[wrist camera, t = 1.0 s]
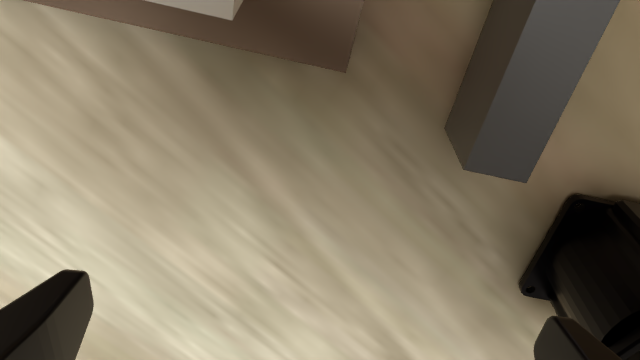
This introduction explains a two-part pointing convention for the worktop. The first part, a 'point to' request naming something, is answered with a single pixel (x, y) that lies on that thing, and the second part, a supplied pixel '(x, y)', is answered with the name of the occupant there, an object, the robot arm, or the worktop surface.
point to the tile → (206, 6)
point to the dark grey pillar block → (522, 81)
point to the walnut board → (247, 25)
